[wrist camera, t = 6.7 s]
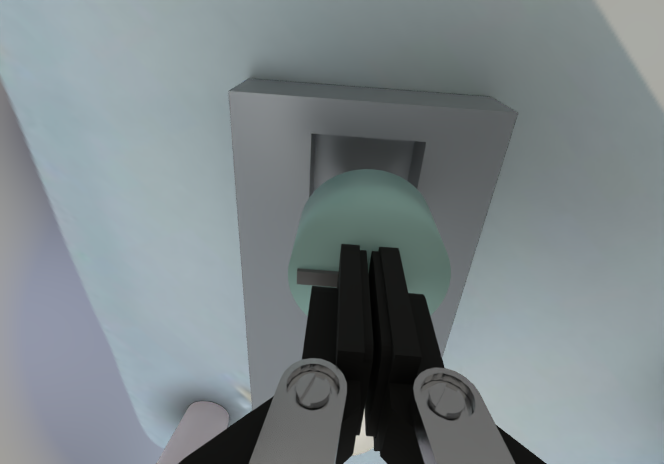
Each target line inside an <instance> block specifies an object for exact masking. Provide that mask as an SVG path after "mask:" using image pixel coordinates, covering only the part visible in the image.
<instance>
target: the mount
mask: <svg viewBox="0 0 664 464" xmlns="http://www.w3.org/2000/svg"><path fill="white" fill-rule="evenodd" d="M228 92H229V105H230V118H231V132H232V145H233V159H234V172H235V186H236V199H237V212H238V226H239V239H240V253H241V266H242V279H243V293H244V306H245V320H246V333H247V347H248V360H249V373H250V387H251V400H252V411H253V410H254V409H256V408H257V407H259V406H260V405H261V404H263V403H264V402H266V401H267V400H269V399H270V398H272V397H273V396H274V394H275V392H276V389H277V386H278V383H279V381H280V378H281V377H282V375H283V373H284V371H285V370H286V369H287V368H288V367H289V366H291V365H292V364H293V363H295V362H298V361H300V360H302V354H303V347H304V340H305V332H306V325H307V318H308V316H307V315H306V314H305V313H304V312H303V311H302V310H301V309H300V307H299V306H298V305H297V303H296V301H295V300H294V298H293V296H292V293H291V291H290V287H289V283H288V266H289V262H290V258H291V254H292V250H293V246H294V242H295V238H296V234H297V230H298V226H299V222H300V218H301V214H302V211H303V208H304V206H305V204H306V202H307V201H308V199H309V197H310V196H311V195H312V194H313V192H314V191H315V190H316V189H317V188H318V187H319V186H320V185H322V184H323V183H325V182H326V181H327V180H329V179H331V178H333V177H335V176H337V175H339V174H342V173H345V172H349V171H353V170H360V169H375V170H382V171H386V172H389V173H393V174H395V175H397V176H400V177H402V178H403V179H405V180H407V181H408V182H409V183H411V184H412V185H413V186H415V188H416V189H417V190H418V191H419V192H420V193H421V194H422V196H423V197H424V199H425V200H426V202H427V204H428V206H429V209H430V211H431V214H432V216H433V219H434V221H435V224H436V226H437V229H438V231H439V234H440V236H441V239H442V241H443V244H444V246H445V249H446V251H447V254H448V257H449V260H450V267H451V279H450V284H449V288H448V291H447V293H446V296H445V297H444V299H443V301H442V303H441V304H440V305H439V307H438V308H437V309H436V311H435V312H434V313H433V314H432V315H431V320H432V323H433V327H434V331H435V335H436V338H437V342H438V346H439V349H440V353H441V357H442V356H443V353H444V350H445V347H446V344H447V340H448V337H449V334H450V331H451V327H452V324H453V321H454V318H455V315H456V311H457V308H458V305H459V302H460V299H461V295H462V292H463V289H464V286H465V282H466V279H467V276H468V273H469V270H470V266H471V263H472V260H473V257H474V254H475V250H476V247H477V244H478V241H479V238H480V234H481V231H482V228H483V225H484V221H485V218H486V215H487V212H488V209H489V205H490V202H491V199H492V196H493V193H494V189H495V186H496V183H497V180H498V176H499V173H500V170H501V167H502V164H503V160H504V157H505V154H506V151H507V148H508V144H509V141H510V138H511V135H512V132H513V128H514V125H515V122H516V119H517V115H518V112H516V111H514V110H513V109H511V108H509V107H507V106H506V105H504V104H502V103H501V102H499V101H497V100H496V99H494V98H492V97H488V96H474V95H461V94H448V93H434V92H421V91H408V90H394V89H381V88H368V87H355V86H341V85H328V84H315V83H301V82H288V81H275V80H261V79H247V80H246V81H244V82H242V83H241V84H239V85H237V86H236V87H234V88H233V89H231V90H229V91H228Z"/></svg>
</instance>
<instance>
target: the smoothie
mask: <svg viewBox="0 0 664 464" xmlns="http://www.w3.org/2000/svg"><path fill="white" fill-rule="evenodd" d="M228 421H229V414H228V412H227V411H226V410H225V409H224V408H223V407H222V406H220V405H218V404H216V403H213V402H208V401H199V402H195V403H193V404H191V405H190V406H189V407H188V409H187V411H186V412H185V414H184V416H183V418H182V419H181V421H180V423H179V425H178V426H177V428H176V430H175V432H174V433H173V435H172V437H171V439H170V440H169V442H168V444H167V446H166V447H165V449H164V451H163V453H162V455H161V456H160V458H159V460H158V462H157V463H156V464H178V463H179V462H180V461H182V460H183V459H184V458H185V457H187V456H188V455H189V454H191V453H192V452H194V451H195V450H197V449H198V448H199V447H201V446H202V445H204V444H205V443H207V442H208V441H210V440H211V439H212V438H214V437H215V436H217V435H218V434H220V433H221V432H223V431H224V430H225V429H227V427H228Z"/></svg>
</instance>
